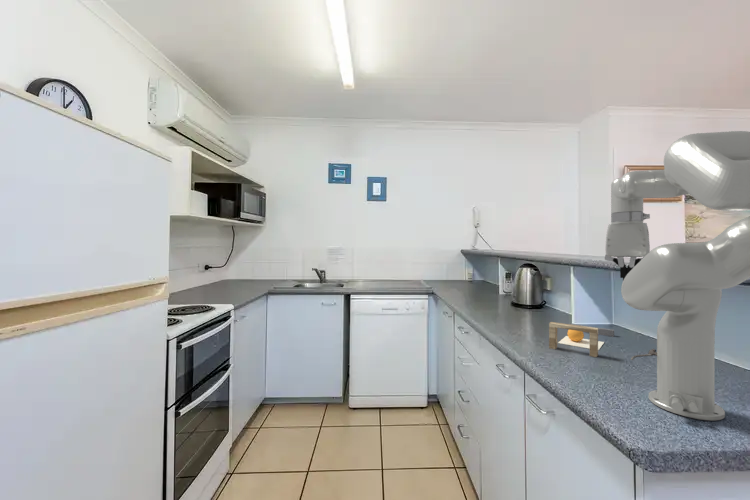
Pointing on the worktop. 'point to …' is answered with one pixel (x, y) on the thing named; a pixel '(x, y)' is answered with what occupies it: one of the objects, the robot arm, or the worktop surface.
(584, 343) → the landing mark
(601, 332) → the wall
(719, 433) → the worktop surface
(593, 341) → the bridge
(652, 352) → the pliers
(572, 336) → the ball
